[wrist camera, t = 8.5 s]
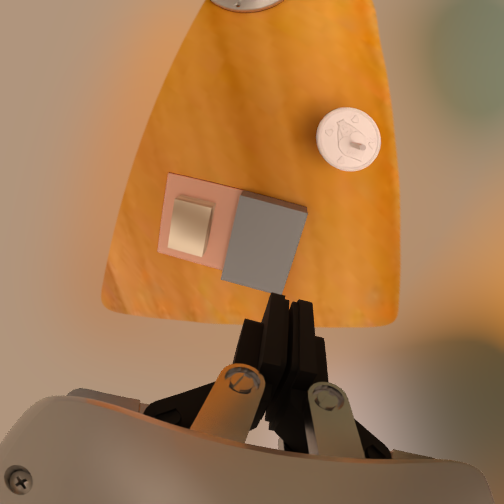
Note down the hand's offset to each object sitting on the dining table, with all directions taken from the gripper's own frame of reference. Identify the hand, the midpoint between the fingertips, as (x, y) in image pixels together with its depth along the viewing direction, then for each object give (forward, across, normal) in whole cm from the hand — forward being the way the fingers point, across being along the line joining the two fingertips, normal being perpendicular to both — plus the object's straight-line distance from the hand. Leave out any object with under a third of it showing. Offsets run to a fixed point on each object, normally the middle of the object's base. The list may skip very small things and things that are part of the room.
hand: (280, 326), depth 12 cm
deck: (+29, +1, +8) cm, 30 cm away
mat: (+29, +11, +8) cm, 32 cm away
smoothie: (+29, -4, -8) cm, 31 cm away
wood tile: (+27, +11, +8) cm, 31 cm away
